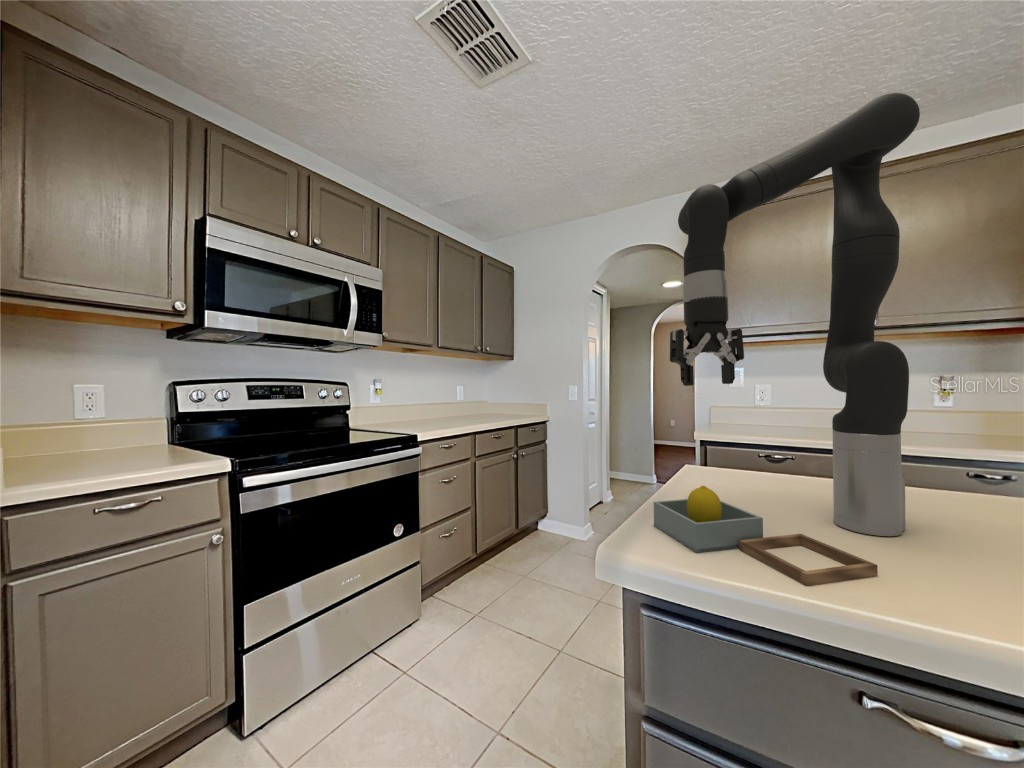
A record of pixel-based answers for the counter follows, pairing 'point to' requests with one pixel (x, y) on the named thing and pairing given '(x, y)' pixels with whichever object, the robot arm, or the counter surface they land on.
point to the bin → (707, 526)
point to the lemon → (704, 505)
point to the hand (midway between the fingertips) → (708, 384)
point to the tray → (820, 576)
